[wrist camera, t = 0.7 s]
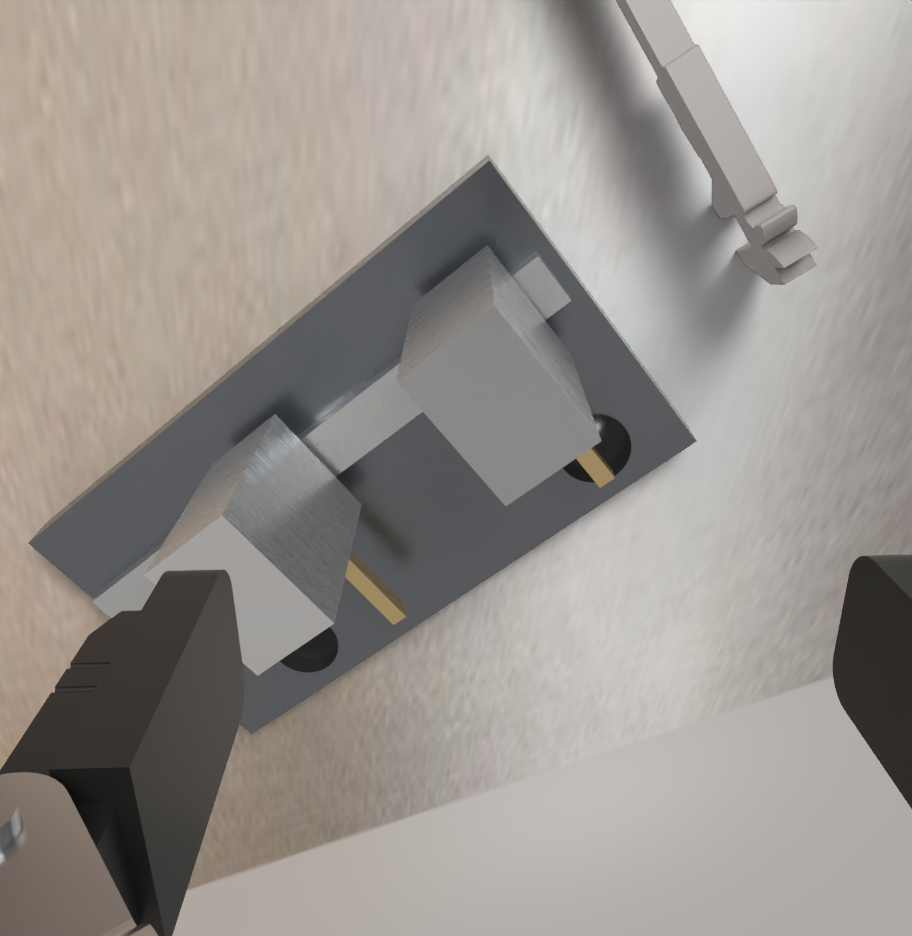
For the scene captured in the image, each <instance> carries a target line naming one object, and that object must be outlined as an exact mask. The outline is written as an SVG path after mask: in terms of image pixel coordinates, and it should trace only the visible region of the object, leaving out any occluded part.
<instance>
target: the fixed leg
mask: <svg viewBox="0 0 912 936" xmlns="http://www.w3.org/2000/svg"><path fill="white" fill-rule="evenodd" d="M396 381H397V383H398V384H399V385H400V386H401V387H402V388H403V389H404V391H405V392H406V393H407V394H408V395H409V396H410V397H411V399H412V400H413V401H414V402H415V403H416V404H417V405H418V407H419V408H420V409H421V410H422V411H423V412H424V413H425V415H426V416H427V417H428V418H429V419H430V420H431V421H432V423H433V424H434V425H435V426H436V427H437V428H438V430H439V431H440V432H441V433H442V434H443V435H444V436H445V438H446V439H447V440H448V441H449V442H450V443H451V444H452V446H453V447H454V448H455V449H456V450H457V451H458V452H459V454H460V455H461V456H462V457H463V458H464V459H465V460H466V462H467V463H468V464H469V465H470V466H471V467H472V468H473V470H474V471H475V472H476V473H477V474H478V475H479V476H480V478H481V479H482V480H483V481H484V482H485V483H486V484H487V486H488V487H489V488H490V489H491V490H492V491H493V492H494V494H495V495H496V496H497V497H498V498H499V499H500V500H501V502H502V503H503V504H504V505H505V506H507V505H509V504H510V503H512V502H513V501H515V500H516V499H518V498H519V497H520V496H522V495H523V494H525V493H526V492H528V491H529V490H531V489H532V488H534V487H535V486H537V485H538V484H539V483H541V482H542V481H544V480H545V479H547V478H548V477H550V476H551V475H553V474H554V473H556V472H557V471H559V470H560V469H561V468H563V467H564V466H566V465H567V464H569V463H570V462H572V461H573V460H575V459H577V460H578V462H579V463H580V464H581V465H582V467H583V468H584V469H585V470H586V471H587V473H588V474H589V475H590V476H591V478H592V479H593V480H594V481H595V483H596V484H597V485H598V486H599V487H600V488H601V487H602V486H604V485H605V484H607V483H608V482H610V481H611V480H613V479H614V478H615V477H614V474H613V471H612V469H611V468H610V467H609V465H608V464H607V463H606V462H605V460H604V459H603V458H602V457H601V455H600V454H599V453H598V452H597V450H596V449H595V448H594V446H595V445H597V444H598V443H600V442H601V438H600V435H599V432H598V430H597V427H596V424H595V421H594V418H593V415H592V413H591V410H590V407H589V404H588V401H587V399H586V396H585V393H584V390H583V387H582V384H581V382H580V379H579V376H578V373H577V370H576V367H575V365H574V362H573V359H572V356H571V353H570V352H569V350H568V349H567V348H566V347H565V345H564V344H563V343H562V341H561V340H560V339H559V337H558V336H557V335H556V334H555V332H554V331H553V330H552V328H551V327H550V326H549V324H548V323H547V322H546V321H545V319H544V318H543V317H542V315H541V314H540V313H539V311H538V310H537V309H536V308H535V306H534V305H533V304H532V302H531V301H530V300H529V298H528V297H527V296H526V295H525V293H524V292H523V291H522V289H521V288H520V287H519V285H518V284H517V283H516V282H515V280H514V279H513V278H512V276H511V275H510V274H509V272H508V271H507V270H506V269H505V267H504V266H503V265H502V263H501V262H500V261H499V259H498V258H497V257H496V256H495V254H494V253H493V252H492V250H491V249H490V248H489V246H488V245H487V246H486V247H484V248H483V249H482V250H481V251H479V252H478V253H477V254H476V255H474V256H473V257H472V258H471V259H469V260H468V261H467V262H465V263H464V264H463V265H462V266H460V267H459V268H458V269H457V270H455V271H454V272H453V273H452V274H450V275H449V276H448V277H447V278H445V279H444V280H443V281H442V282H440V283H439V284H438V285H437V286H435V287H434V288H433V289H432V290H430V291H429V292H428V293H427V294H425V295H424V296H423V297H422V298H420V299H419V300H418V301H416V302H415V303H414V304H413V305H412V309H411V313H410V318H409V323H408V328H407V332H406V337H405V342H404V347H403V351H402V356H401V361H400V366H399V370H398V375H397V380H396Z"/></svg>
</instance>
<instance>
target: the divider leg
mask: <svg viewBox="0 0 912 936" xmlns="http://www.w3.org/2000/svg"><path fill="white" fill-rule="evenodd" d="M361 506H362V504H361V503H360V502H359V501H358V500H357V499H356V498H355V497H354V496H353V495H352V494H351V493H350V492H349V491H348V490H347V488H346V487H345V486H344V485H343V484H342V483H341V482H340V481H339V480H338V479H337V478H336V477H335V476H334V475H333V474H332V473H331V472H330V471H329V470H328V469H327V468H326V466H325V465H324V464H323V463H322V462H321V461H320V460H319V459H318V458H317V457H316V456H315V455H314V454H313V453H312V452H311V451H310V450H309V449H308V448H307V447H306V446H305V444H304V443H303V442H302V441H301V440H300V439H299V438H298V437H297V436H296V435H295V434H294V433H293V432H292V431H291V430H290V429H289V428H288V427H287V426H286V425H285V424H284V423H283V421H282V420H281V419H280V418H279V417H278V416H277V415H276V414H275V415H273V416H272V417H271V418H269V419H268V420H267V421H266V422H264V423H263V424H262V425H261V426H259V427H258V428H257V429H256V430H254V431H253V432H252V433H251V434H249V435H248V436H247V437H246V438H244V439H243V440H242V441H241V442H239V443H238V444H237V445H236V446H234V447H233V448H232V449H231V450H229V451H228V452H227V453H226V454H224V455H223V456H222V457H220V458H219V459H218V460H217V461H215V462H214V463H213V464H212V466H211V467H210V469H209V470H208V472H207V474H206V475H205V477H204V479H203V480H202V482H201V483H200V485H199V487H198V488H197V490H196V492H195V493H194V495H193V496H192V498H191V500H190V501H189V503H188V504H187V506H186V508H185V509H184V511H183V513H182V514H181V516H180V517H179V519H178V521H177V522H176V524H175V526H174V527H173V529H172V530H171V532H170V534H169V535H168V537H167V539H166V540H165V542H164V543H163V545H162V547H161V548H160V550H159V552H158V553H157V555H156V556H155V558H154V560H153V561H152V563H151V564H150V566H149V568H148V569H147V571H146V573H145V574H144V576H146V577H147V578H148V579H149V580H150V581H151V582H152V583H153V584H155V585H156V584H157V582H158V581H159V579H160V577H161V576H162V574H163V573H164V572H166V571H184V570H226V571H227V572H228V574H229V576H230V579H231V584H232V589H233V597H234V604H235V612H236V619H237V626H238V634H239V641H240V649H241V656H242V663H243V664H245V665H246V666H247V667H248V668H249V669H250V670H251V671H252V672H254V673H255V674H256V675H257V676H258V675H260V674H261V673H263V672H264V671H266V670H267V669H268V668H270V667H271V666H273V665H274V664H276V663H277V662H279V661H280V660H282V659H283V658H285V657H286V656H288V655H289V654H290V653H292V652H293V651H295V650H296V649H298V648H299V647H301V646H302V645H304V644H305V643H307V642H308V641H309V640H311V639H312V638H314V637H315V636H317V635H318V634H320V633H321V632H323V631H324V630H326V629H327V628H329V627H330V626H331V625H333V624H334V623H335V619H336V614H337V610H338V606H339V601H340V597H341V593H342V588H343V584H344V580H345V578H347V579H348V580H349V581H350V582H351V583H352V584H353V585H354V586H355V587H356V588H357V589H358V590H359V591H360V592H361V593H362V594H363V595H364V596H365V597H366V598H367V599H368V600H369V601H370V602H371V603H372V604H373V605H374V606H375V607H376V608H377V609H378V610H379V611H380V612H381V613H382V614H383V615H384V616H385V617H386V618H387V619H388V620H389V621H390V622H391V623H392V624H393V625H395V624H396V623H398V622H399V621H401V620H402V619H404V618H405V617H406V614H407V606H406V605H405V604H404V603H403V602H402V601H401V600H400V599H399V598H398V597H397V596H396V595H395V594H394V593H393V592H392V591H391V590H390V589H389V588H388V587H387V586H386V585H385V584H384V583H383V582H382V581H381V580H380V579H379V578H378V577H377V576H376V575H375V574H374V573H373V572H372V571H371V570H370V569H369V568H368V567H367V566H366V565H365V564H364V563H363V562H362V561H361V560H360V559H359V558H358V557H357V556H356V555H355V554H354V553H353V552H352V551H351V549H352V545H353V540H354V536H355V532H356V527H357V523H358V519H359V514H360V510H361Z"/></svg>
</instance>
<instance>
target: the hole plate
mask: <svg viewBox="0 0 912 936" xmlns="http://www.w3.org/2000/svg"><path fill="white" fill-rule="evenodd" d="M487 245H488V246H489V248H490V249H491V250H492V252H493V253H494V254H495V256H496V257H497V258H498V259H499V261H500V262H501V263H502V265H503V266H504V267H505V269H506V270H507V271H508V272H509V274H510V275H511V276H512V278H513V279H514V280H515V282H516V283H517V284H518V285H519V287H520V288H521V289H522V291H523V292H524V293H525V295H526V296H527V297H528V298H529V300H530V301H531V302H532V304H533V305H534V306H535V308H536V309H537V310H538V311H539V313H540V314H541V315H542V317H543V318H544V319H545V321H546V322H547V323H548V324H549V326H550V327H551V328H552V330H553V331H554V332H555V334H556V335H557V336H558V337H559V339H560V340H561V341H562V343H563V344H564V345H565V347H566V348H567V349H568V350H569V352H570V353H571V356H572V359H573V362H574V365H575V367H576V370H577V373H578V376H579V379H580V382H581V384H582V387H583V390H584V393H585V396H586V399H587V401H588V404H589V407H590V410H591V413H592V415H593V418H594V421H595V424H596V427H597V430H598V432H599V435H600V438H601V442H600V443H598V444H597V445H595V446H594V448H595V449H596V450H597V452H598V453H599V454H600V455H601V457H602V458H603V459H604V460H605V462H606V463H607V464H608V465H609V467H610V468H611V469H612V471H613V474H614V477H615V478H614V479H613V480H611V481H610V482H608V483H607V484H605V485H604V486H602V487H601V488H600V487H599V486H598V485H597V484H596V483H595V481H594V480H593V479H592V478H591V476H590V475H589V474H588V473H587V471H586V470H585V469H584V468H583V467H582V465H581V464H580V463H579V462H578V460H577V459H575V460H573V461H572V462H570V463H569V464H567V465H566V466H564V467H563V468H561V469H560V470H559V471H557V472H556V473H554V474H553V475H551V476H550V477H548V478H547V479H545V480H544V481H542V482H541V483H539V484H538V485H537V486H535V487H534V488H532V489H531V490H529V491H528V492H526V493H525V494H523V495H522V496H520V497H519V498H518V499H516V500H515V501H513V502H512V503H510V504H509V505H507V506H505V505H504V504H503V503H502V502H501V500H500V499H499V498H498V497H497V496H496V495H495V494H494V492H493V491H492V490H491V489H490V488H489V487H488V486H487V484H486V483H485V482H484V481H483V480H482V479H481V478H480V476H479V475H478V474H477V473H476V472H475V471H474V470H473V468H472V467H471V466H470V465H469V464H468V463H467V462H466V460H465V459H464V458H463V457H462V456H461V455H460V454H459V452H458V451H457V450H456V449H455V448H454V447H453V446H452V444H451V443H450V442H449V441H448V440H447V439H446V438H445V436H444V435H443V434H442V433H441V432H440V431H439V430H438V428H437V427H436V426H435V425H434V424H433V423H432V421H431V420H430V419H429V418H428V417H427V416H426V415H425V413H424V412H423V411H422V410H421V409H420V408H419V407H418V405H417V404H416V403H415V402H414V401H413V400H412V399H411V397H410V396H409V395H408V394H407V393H406V392H405V391H404V389H403V388H402V387H401V386H400V385H399V384H398V383H397V381H396V380H397V375H398V370H399V366H400V361H401V356H402V351H403V347H404V342H405V337H406V332H407V328H408V323H409V318H410V313H411V309H412V305H413V304H414V303H415V302H416V301H418V300H419V299H420V298H422V297H423V296H424V295H425V294H427V293H428V292H429V291H430V290H432V289H433V288H434V287H435V286H437V285H438V284H439V283H440V282H442V281H443V280H444V279H445V278H447V277H448V276H449V275H450V274H452V273H453V272H454V271H455V270H457V269H458V268H459V267H460V266H462V265H463V264H464V263H465V262H467V261H468V260H469V259H471V258H472V257H473V256H474V255H476V254H477V253H478V252H479V251H481V250H482V249H483V248H484V247H486V246H487ZM275 414H276V415H277V416H278V417H279V418H280V419H281V420H282V421H283V423H284V424H285V425H286V426H287V427H288V428H289V429H290V430H291V431H292V432H293V433H294V434H295V435H296V436H297V437H298V438H299V439H300V440H301V441H302V442H303V443H304V444H305V446H306V447H307V448H308V449H309V450H310V451H311V452H312V453H313V454H314V455H315V456H316V457H317V458H318V459H319V460H320V461H321V462H322V463H323V464H324V465H325V466H326V468H327V469H328V470H329V471H330V472H331V473H332V474H333V475H334V476H335V477H336V478H337V479H338V480H339V481H340V482H341V483H342V484H343V485H344V486H345V487H346V488H347V490H348V491H349V492H350V493H351V494H352V495H353V496H354V497H355V498H356V499H357V500H358V501H359V502H360V503H361V504H362V506H361V510H360V514H359V519H358V523H357V527H356V532H355V536H354V540H353V545H352V549H351V551H352V552H353V553H354V554H355V555H356V556H357V557H358V558H359V559H360V560H361V561H362V562H363V563H364V564H365V565H366V566H367V567H368V568H369V569H370V570H371V571H372V572H373V573H374V574H375V575H376V576H377V577H378V578H379V579H380V580H381V581H382V582H383V583H384V584H385V585H386V586H387V587H388V588H389V589H390V590H391V591H392V592H393V593H394V594H395V595H396V596H397V597H398V598H399V599H400V600H401V601H402V602H403V603H404V604H405V605H406V606H407V614H406V617H405V618H404V619H402V620H401V621H399V622H398V623H396V624H395V625H393V624H392V623H391V622H390V621H389V620H388V619H387V618H386V617H385V616H384V615H383V614H382V613H381V612H380V611H379V610H378V609H377V608H376V607H375V606H374V605H373V604H372V603H371V602H370V601H369V600H368V599H367V598H366V597H365V596H364V595H363V594H362V593H361V592H360V591H359V590H358V589H357V588H356V587H355V586H354V585H353V584H352V583H351V582H350V581H349V580H348V579H347V578H345V580H344V584H343V588H342V593H341V597H340V601H339V606H338V610H337V614H336V619H335V623H334V624H333V625H331V626H330V627H329V628H327V629H326V630H324V631H323V632H321V633H320V634H318V635H317V636H315V637H314V638H312V639H311V640H309V641H308V642H307V643H305V644H304V645H302V646H301V647H299V648H298V649H296V650H295V651H293V652H292V653H290V654H289V655H288V656H286V657H285V658H283V659H282V660H280V661H279V662H277V663H276V664H274V665H273V666H271V667H270V668H268V669H267V670H266V671H264V672H263V673H261V674H260V675H258V676H257V675H256V674H255V673H254V672H252V671H251V670H250V669H249V668H248V667H247V666H246V665H245V664H243V671H244V701H243V709H242V715H241V720H240V724H241V725H242V726H243V727H244V728H246V729H247V730H248V731H249V732H250V733H251V734H252V733H254V732H255V731H257V730H258V729H260V728H261V727H263V726H264V725H266V724H267V723H269V722H270V721H272V720H273V719H275V718H276V717H278V716H279V715H281V714H282V713H284V712H285V711H287V710H289V709H290V708H292V707H293V706H295V705H296V704H298V703H299V702H301V701H302V700H304V699H305V698H307V697H308V696H310V695H311V694H313V693H314V692H316V691H317V690H319V689H320V688H322V687H323V686H325V685H327V684H328V683H330V682H331V681H333V680H334V679H336V678H337V677H339V676H340V675H342V674H343V673H345V672H346V671H348V670H349V669H351V668H352V667H354V666H355V665H357V664H358V663H360V662H361V661H363V660H365V659H366V658H368V657H369V656H371V655H372V654H374V653H375V652H377V651H378V650H380V649H381V648H383V647H384V646H386V645H387V644H389V643H390V642H392V641H393V640H395V639H396V638H398V637H399V636H401V635H403V634H404V633H406V632H407V631H409V630H410V629H412V628H413V627H415V626H416V625H418V624H419V623H421V622H422V621H424V620H425V619H427V618H428V617H430V616H431V615H433V614H434V613H436V612H437V611H439V610H441V609H442V608H444V607H445V606H447V605H448V604H450V603H451V602H453V601H454V600H456V599H457V598H459V597H460V596H462V595H463V594H465V593H466V592H468V591H469V590H471V589H472V588H474V587H475V586H477V585H479V584H480V583H482V582H483V581H485V580H486V579H488V578H489V577H491V576H492V575H494V574H495V573H497V572H498V571H500V570H501V569H503V568H504V567H506V566H507V565H509V564H510V563H512V562H513V561H515V560H517V559H518V558H520V557H521V556H523V555H524V554H526V553H527V552H529V551H530V550H532V549H533V548H535V547H536V546H538V545H539V544H541V543H542V542H544V541H545V540H547V539H548V538H550V537H551V536H553V535H555V534H556V533H558V532H559V531H561V530H562V529H564V528H565V527H567V526H568V525H570V524H571V523H573V522H574V521H576V520H577V519H579V518H580V517H582V516H583V515H585V514H586V513H588V512H589V511H591V510H593V509H594V508H596V507H597V506H599V505H600V504H602V503H603V502H605V501H606V500H608V499H609V498H611V497H612V496H614V495H615V494H617V493H618V492H620V491H621V490H623V489H624V488H626V487H627V486H629V485H630V484H632V483H634V482H635V481H637V480H638V479H640V478H641V477H643V476H644V475H646V474H647V473H649V472H650V471H652V470H653V469H655V468H656V467H658V466H659V465H661V464H662V463H664V462H665V461H667V460H668V459H670V458H672V457H673V456H675V455H676V454H678V453H679V452H681V451H682V450H684V449H685V448H687V447H688V446H690V445H691V444H693V443H694V442H696V439H695V438H694V436H693V434H692V433H691V431H690V429H689V428H688V426H687V424H686V423H685V422H684V420H683V419H682V418H681V416H680V415H679V414H678V412H677V411H676V409H675V408H674V407H673V405H672V404H671V403H670V401H669V400H668V399H667V397H666V396H665V395H664V393H663V392H662V390H661V389H660V388H659V386H658V385H657V384H656V382H655V381H654V380H653V378H652V377H651V376H650V374H649V373H648V371H647V370H646V369H645V367H644V366H643V365H642V363H641V362H640V361H639V359H638V358H637V357H636V355H635V354H634V352H633V351H632V350H631V348H630V347H629V346H628V344H627V343H626V342H625V340H624V339H623V337H622V336H621V335H620V333H619V332H618V331H617V329H616V328H615V327H614V325H613V324H612V323H611V321H610V320H609V318H608V317H607V316H606V314H605V313H604V312H603V310H602V309H601V308H600V306H599V305H598V304H597V302H596V301H595V299H594V298H593V297H592V295H591V294H590V293H589V291H588V290H587V289H586V287H585V286H584V284H583V283H582V282H581V280H580V279H579V278H578V276H577V275H576V274H575V272H574V271H573V270H572V268H571V267H570V265H569V264H568V263H567V261H566V260H565V259H564V257H563V256H562V255H561V253H560V252H559V251H558V249H557V248H556V246H555V245H554V244H553V242H552V241H551V240H550V238H549V237H548V236H547V234H546V233H545V231H544V230H543V229H542V227H541V226H540V225H539V223H538V222H537V221H536V219H535V218H534V217H533V215H532V214H531V212H530V211H529V210H528V208H527V207H526V206H525V204H524V203H523V202H522V200H521V199H520V198H519V196H518V195H517V193H516V192H515V191H514V189H513V188H512V187H511V185H510V184H509V183H508V181H507V180H506V178H505V177H504V176H503V174H502V173H501V172H500V170H499V169H498V168H497V166H496V165H495V164H494V162H493V161H492V159H491V158H490V157H489V155H488V156H487V157H485V158H484V159H483V160H482V161H481V162H479V163H478V164H477V165H476V166H475V167H473V168H472V169H471V170H470V171H469V172H467V173H466V174H465V175H464V176H463V177H461V178H460V179H459V180H458V181H457V182H455V183H454V184H453V185H452V186H451V187H449V188H448V189H447V190H446V191H444V192H443V193H442V194H441V195H440V196H438V197H437V198H436V199H435V200H434V201H432V202H431V203H430V204H429V205H428V206H426V207H425V208H424V209H423V210H422V211H420V212H419V213H418V214H417V215H416V216H414V217H413V218H412V219H411V220H410V221H408V222H407V223H406V224H405V225H404V226H402V227H401V228H400V229H399V230H398V231H396V232H395V233H394V234H393V235H392V236H390V237H389V238H388V239H387V240H386V241H384V242H383V243H382V244H381V245H380V246H378V247H377V248H376V249H375V250H374V251H372V252H371V253H370V254H369V255H368V256H366V257H365V258H364V259H363V260H362V261H360V262H359V263H358V264H357V265H356V266H354V267H353V268H352V269H351V270H350V271H348V272H347V273H346V274H345V275H344V276H342V277H341V278H340V279H339V280H338V281H336V282H335V283H334V284H333V285H332V286H330V287H329V288H328V289H327V290H326V291H324V292H323V293H322V294H321V295H320V296H318V297H317V298H316V299H315V300H314V301H312V302H311V303H310V304H309V305H308V306H306V307H305V308H304V309H303V310H302V311H300V312H299V313H298V314H297V315H296V316H294V317H293V318H292V319H291V320H290V321H288V322H287V323H286V324H285V325H284V326H282V327H281V328H280V329H279V330H278V331H276V332H275V333H274V334H273V335H272V336H270V337H269V338H268V339H267V340H266V341H264V342H263V343H262V344H261V345H260V346H258V347H257V348H256V349H255V350H254V351H252V352H251V353H250V354H249V355H248V356H246V357H245V358H244V359H243V360H242V361H240V362H239V363H238V364H237V365H236V366H234V367H233V368H232V369H231V370H230V371H228V372H227V373H226V374H225V375H224V376H222V377H221V378H220V379H219V380H218V381H216V382H215V383H214V384H213V385H212V386H210V387H209V388H208V389H207V390H206V391H204V392H203V393H202V394H201V395H200V396H198V397H197V398H196V399H195V400H194V401H192V402H191V403H190V404H189V405H188V406H186V407H185V408H184V409H183V410H182V411H180V412H179V413H178V414H177V415H176V416H174V417H173V418H172V419H171V420H170V421H168V422H167V423H166V424H165V425H164V426H162V427H161V428H160V429H159V430H158V431H156V432H155V433H154V434H153V435H152V436H150V437H149V438H148V439H147V440H146V441H144V442H143V443H142V444H141V445H140V446H138V447H137V448H136V449H135V450H134V451H132V452H131V453H130V454H129V455H128V456H126V457H125V458H124V459H123V460H122V461H120V462H119V463H118V464H117V465H116V466H114V467H113V468H112V469H111V470H110V471H108V472H107V473H106V474H105V475H104V476H102V477H101V478H100V479H99V480H97V481H96V482H95V483H94V484H93V485H91V486H90V487H89V488H88V489H87V490H85V491H84V492H83V493H82V494H81V495H79V496H78V497H77V498H76V499H75V500H73V501H72V502H71V503H70V504H69V505H67V506H66V507H65V508H64V509H63V510H61V511H60V512H59V513H58V514H57V515H55V516H54V517H53V518H52V519H51V520H49V521H48V522H47V523H46V524H45V525H44V526H43V527H42V528H41V530H40V531H39V532H38V533H37V534H36V535H35V536H34V537H33V538H32V540H31V541H30V542H29V544H30V545H31V546H32V547H34V548H35V549H36V550H37V551H38V552H39V553H41V554H42V555H43V556H44V557H45V558H46V559H48V560H49V561H50V562H51V563H52V564H53V565H55V566H56V567H57V568H58V569H59V570H60V571H62V572H63V573H64V574H65V575H66V576H67V577H69V578H70V579H71V580H72V581H73V582H75V583H76V584H77V585H78V586H79V587H80V588H82V589H83V590H84V591H85V592H86V593H87V594H89V595H90V596H91V597H92V598H93V601H92V603H93V604H95V605H96V606H97V607H98V608H99V609H100V610H102V611H103V612H104V613H105V614H106V615H107V616H109V617H110V618H113V617H114V616H115V615H117V614H118V613H119V612H121V611H138V610H142V608H143V606H144V605H145V603H146V601H147V600H148V598H149V596H150V594H151V593H152V591H153V589H154V588H155V586H156V585H155V584H153V583H152V582H151V581H150V580H149V579H148V578H147V577H146V576H144V574H145V573H146V571H147V569H148V568H149V566H150V564H151V563H152V561H153V560H154V558H155V556H156V555H157V553H158V552H159V550H160V548H161V547H162V545H163V543H164V542H165V540H166V539H167V537H168V535H169V534H170V532H171V530H172V529H173V527H174V526H175V524H176V522H177V521H178V519H179V517H180V516H181V514H182V513H183V511H184V509H185V508H186V506H187V504H188V503H189V501H190V500H191V498H192V496H193V495H194V493H195V492H196V490H197V488H198V487H199V485H200V483H201V482H202V480H203V479H204V477H205V475H206V474H207V472H208V470H209V469H210V467H211V466H212V464H213V463H214V462H215V461H217V460H218V459H219V458H220V457H222V456H223V455H224V454H226V453H227V452H228V451H229V450H231V449H232V448H233V447H234V446H236V445H237V444H238V443H239V442H241V441H242V440H243V439H244V438H246V437H247V436H248V435H249V434H251V433H252V432H253V431H254V430H256V429H257V428H258V427H259V426H261V425H262V424H263V423H264V422H266V421H267V420H268V419H269V418H271V417H272V416H273V415H275Z"/></svg>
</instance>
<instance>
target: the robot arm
mask: <svg viewBox="0 0 912 936" xmlns="http://www.w3.org/2000/svg"><path fill="white" fill-rule="evenodd" d="M833 677H834V683H835V688H836V692H837V695H838V698H839V700H840V703H841V705H842V706H843V708H844V710H845V711H846V713H847V714H848V716H849V717H850V719H851V720H852V721H853V723H854V724H855V726H856V727H857V729H858V730H859V732H860V733H861V735H862V736H863V738H864V739H865V741H866V742H867V744H868V745H869V747H870V748H871V749H872V751H873V752H874V754H875V755H876V757H877V758H878V760H879V761H880V763H881V764H882V765H883V767H884V768H885V770H886V772H887V773H888V774H889V776H890V777H891V779H892V780H893V782H894V783H895V785H896V786H897V788H898V789H899V791H900V792H901V794H902V795H903V797H904V798H905V800H906V801H907V803H908V804H909V805H910V807H911V808H912V555H879V556H861V557H859V558H857V559H856V561H855V562H854V563H853V565H852V567H851V570H850V573H849V578H848V583H847V588H846V594H845V599H844V604H843V609H842V615H841V620H840V625H839V630H838V636H837V641H836V646H835V651H834V657H833ZM243 701H244V671H243V663H242V656H241V649H240V641H239V634H238V626H237V619H236V612H235V604H234V597H233V589H232V584H231V579H230V576H229V574H228V572H227V571H226V570H184V571H166V572H164V573H163V574H162V576H161V577H160V579H159V581H158V582H157V584H156V586H155V588H154V589H153V591H152V593H151V594H150V596H149V598H148V600H147V601H146V603H145V605H144V606H143V608H142V610H138V611H121V612H119V613H118V614H117V615H115V616H114V617H113V618H111V619H110V620H109V621H107V622H106V623H105V624H103V625H102V626H101V627H99V628H98V629H97V630H95V631H94V632H93V633H91V634H90V635H89V636H88V637H87V639H86V640H85V642H84V644H83V645H82V647H81V648H80V650H79V651H78V653H77V654H76V656H75V657H74V659H73V660H72V662H71V668H70V669H66V671H65V673H64V674H63V676H62V677H61V679H60V680H59V682H58V683H57V685H56V686H55V693H51V694H50V695H49V697H48V698H47V700H46V702H45V703H44V705H43V706H42V708H41V709H40V711H39V712H38V714H37V715H36V717H35V718H34V720H33V721H32V723H31V724H30V726H29V727H28V729H27V731H26V732H25V734H24V735H23V737H22V738H21V740H20V741H19V743H18V744H17V746H16V747H15V749H14V750H13V752H12V753H11V755H10V756H9V758H8V759H7V761H6V763H5V764H4V766H3V767H2V769H1V770H0V936H172V934H173V931H174V928H175V925H176V922H177V919H178V916H179V912H180V909H181V906H182V903H183V900H184V897H185V893H186V890H187V887H188V884H189V881H190V878H191V875H192V871H193V868H194V865H195V862H196V859H197V856H198V853H199V849H200V846H201V843H202V840H203V837H204V834H205V831H206V827H207V824H208V821H209V818H210V815H211V812H212V808H213V805H214V802H215V799H216V796H217V793H218V790H219V786H220V783H221V780H222V777H223V774H224V771H225V768H226V764H227V761H228V758H229V755H230V752H231V749H232V745H233V742H234V739H235V736H236V733H237V730H238V727H239V723H240V720H241V715H242V709H243Z"/></svg>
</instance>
